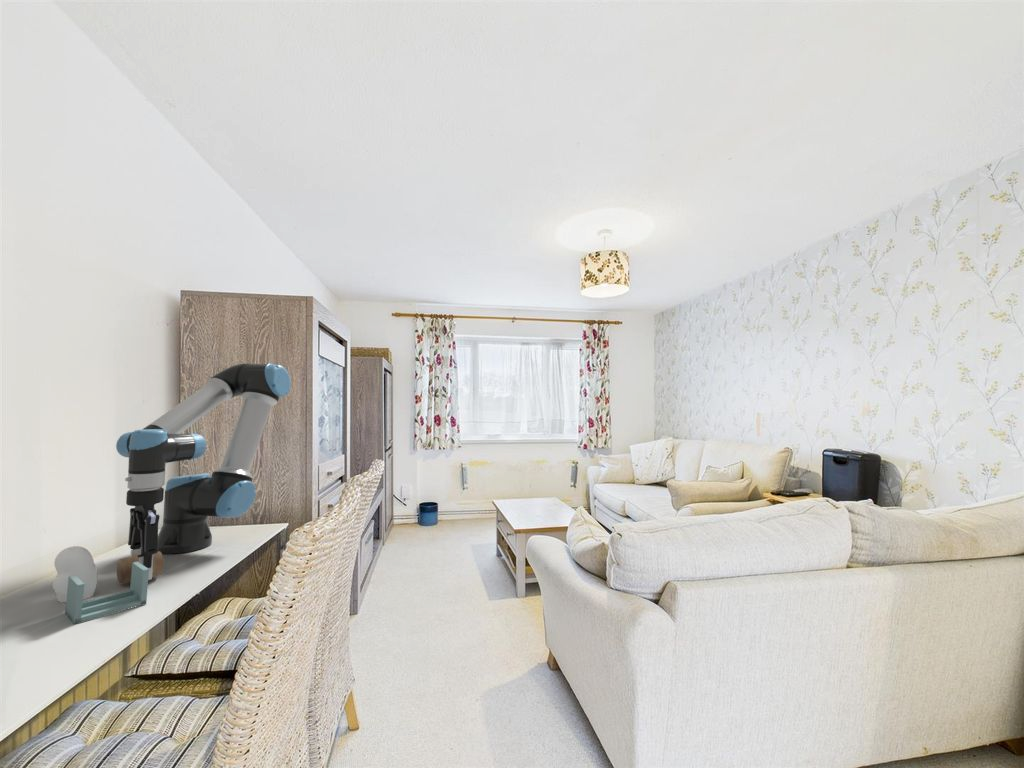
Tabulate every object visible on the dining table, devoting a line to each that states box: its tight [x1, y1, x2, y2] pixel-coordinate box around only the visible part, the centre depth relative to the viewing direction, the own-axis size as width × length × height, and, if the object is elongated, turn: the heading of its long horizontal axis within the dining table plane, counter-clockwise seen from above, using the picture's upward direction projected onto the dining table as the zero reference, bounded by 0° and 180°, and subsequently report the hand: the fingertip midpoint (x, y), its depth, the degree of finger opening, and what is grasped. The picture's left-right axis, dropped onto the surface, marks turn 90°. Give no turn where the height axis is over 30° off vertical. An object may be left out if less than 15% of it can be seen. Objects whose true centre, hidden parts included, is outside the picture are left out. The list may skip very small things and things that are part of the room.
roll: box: [116, 551, 164, 585], centre depth 114 cm, size 8×6×6 cm
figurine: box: [52, 546, 98, 603], centre depth 104 cm, size 7×8×12 cm
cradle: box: [64, 562, 149, 625], centre depth 99 cm, size 12×8×8 cm, turn 146°
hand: (140, 576), depth 114 cm, fingers closed on roll, 6 cm apart
